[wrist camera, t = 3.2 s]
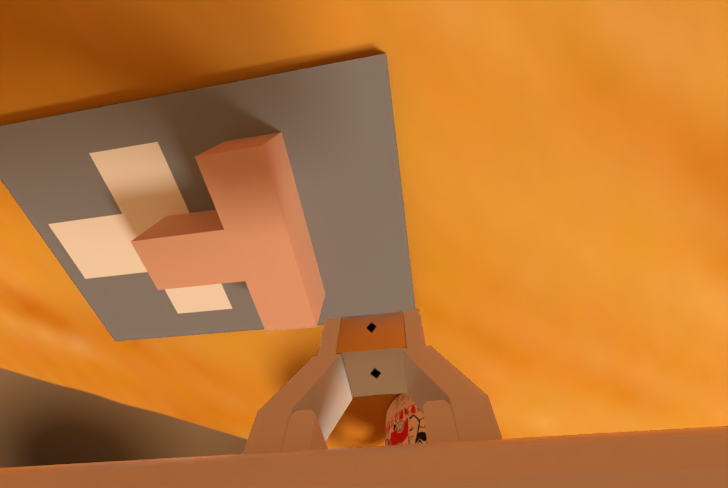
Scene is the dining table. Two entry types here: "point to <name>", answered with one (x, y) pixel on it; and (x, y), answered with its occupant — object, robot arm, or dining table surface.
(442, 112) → the dining table surface
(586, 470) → the robot arm
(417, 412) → the teacup with lid
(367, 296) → the t mat
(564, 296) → the dining table surface
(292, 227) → the t block
